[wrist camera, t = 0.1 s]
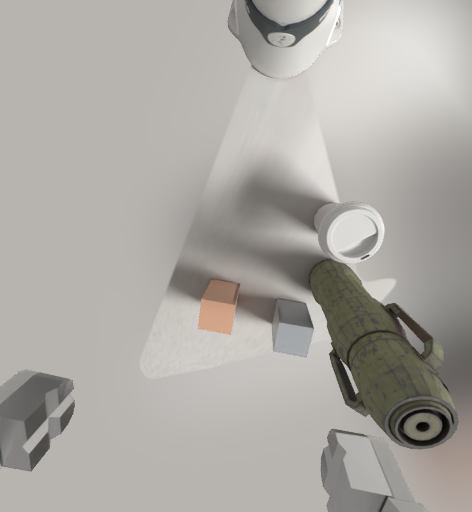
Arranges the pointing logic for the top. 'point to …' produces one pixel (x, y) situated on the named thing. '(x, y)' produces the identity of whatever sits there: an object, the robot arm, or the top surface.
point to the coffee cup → (349, 231)
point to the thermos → (383, 361)
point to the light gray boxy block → (291, 328)
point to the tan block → (218, 306)
